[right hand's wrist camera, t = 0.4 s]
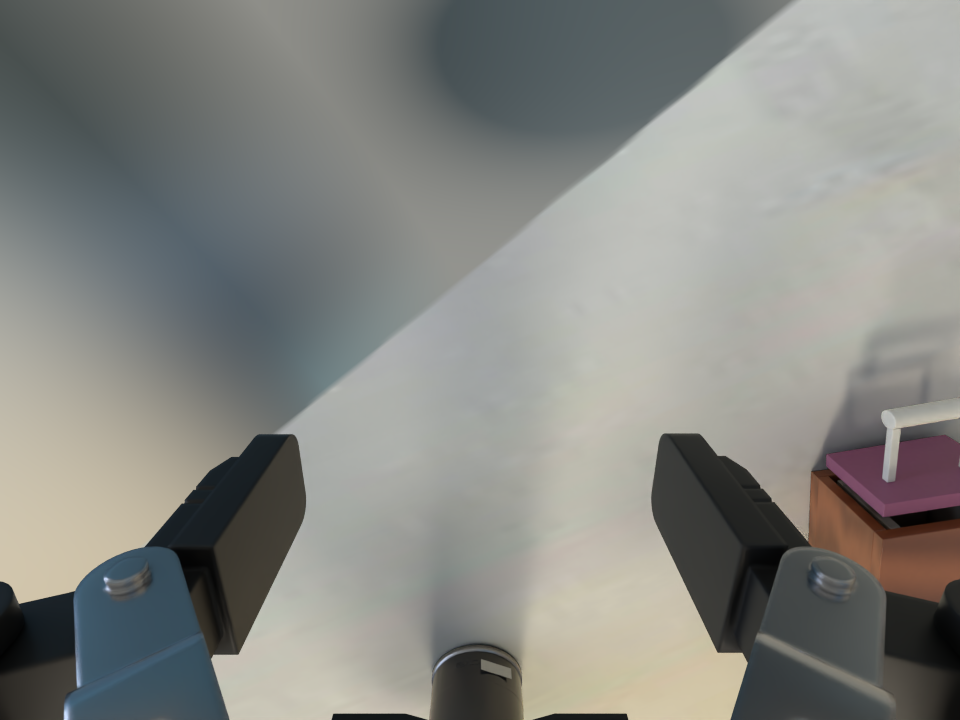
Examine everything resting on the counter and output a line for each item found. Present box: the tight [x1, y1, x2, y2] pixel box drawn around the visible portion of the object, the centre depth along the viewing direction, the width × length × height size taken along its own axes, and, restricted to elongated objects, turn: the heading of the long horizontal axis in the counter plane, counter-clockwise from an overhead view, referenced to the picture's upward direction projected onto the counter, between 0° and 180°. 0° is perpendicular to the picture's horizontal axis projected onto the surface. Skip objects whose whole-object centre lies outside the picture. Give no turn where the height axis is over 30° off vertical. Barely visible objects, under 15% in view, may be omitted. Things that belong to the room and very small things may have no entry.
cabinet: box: [809, 469, 960, 603], centre depth 44 cm, size 14×11×9 cm
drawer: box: [826, 397, 960, 530], centre depth 41 cm, size 18×10×7 cm, turn 11°
